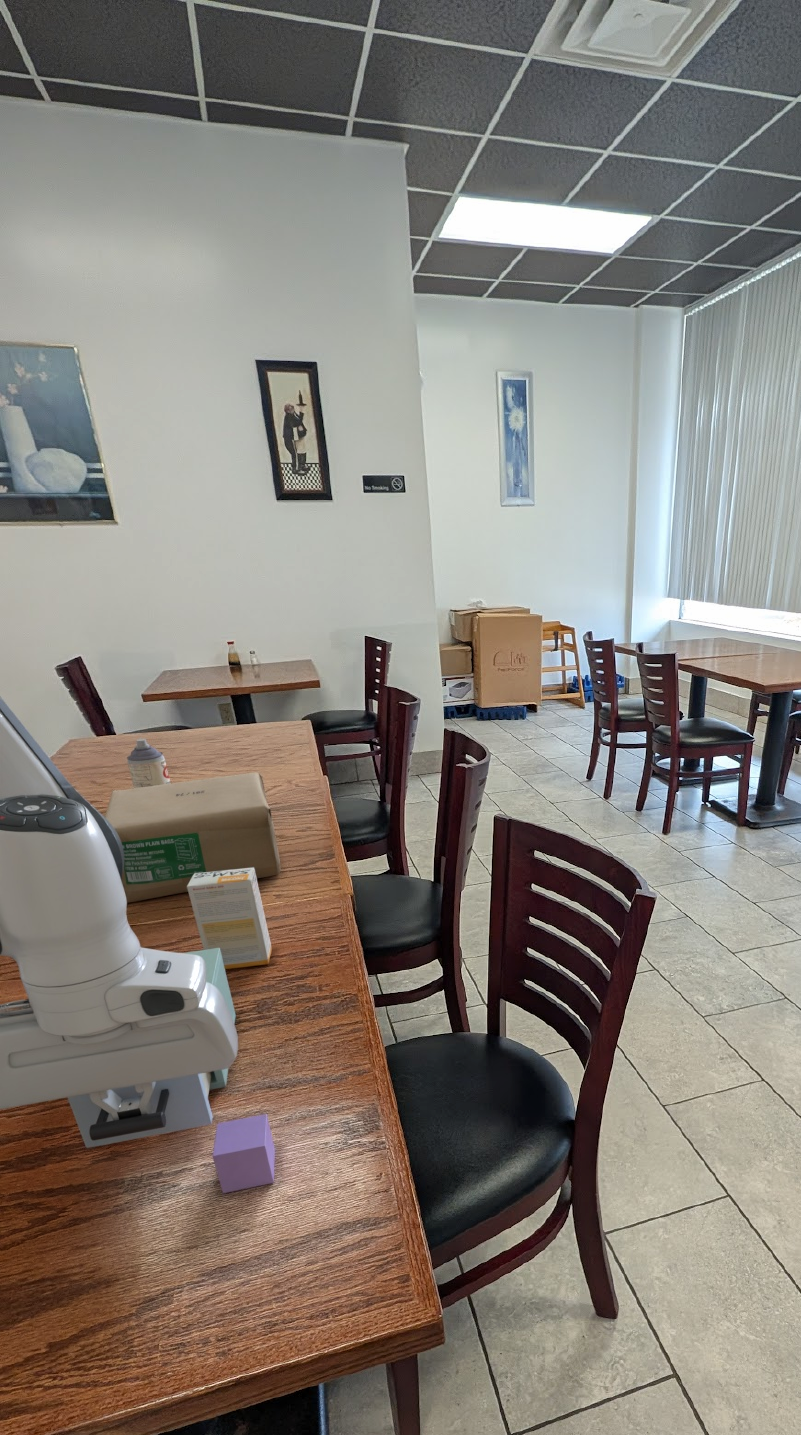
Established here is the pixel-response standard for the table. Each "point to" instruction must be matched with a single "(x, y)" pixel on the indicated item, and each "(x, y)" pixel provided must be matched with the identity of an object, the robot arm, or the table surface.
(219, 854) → the paper package
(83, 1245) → the table surface
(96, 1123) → the drawer
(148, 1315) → the table surface
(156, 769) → the aerosol can
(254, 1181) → the purple cube
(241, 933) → the supplement box
